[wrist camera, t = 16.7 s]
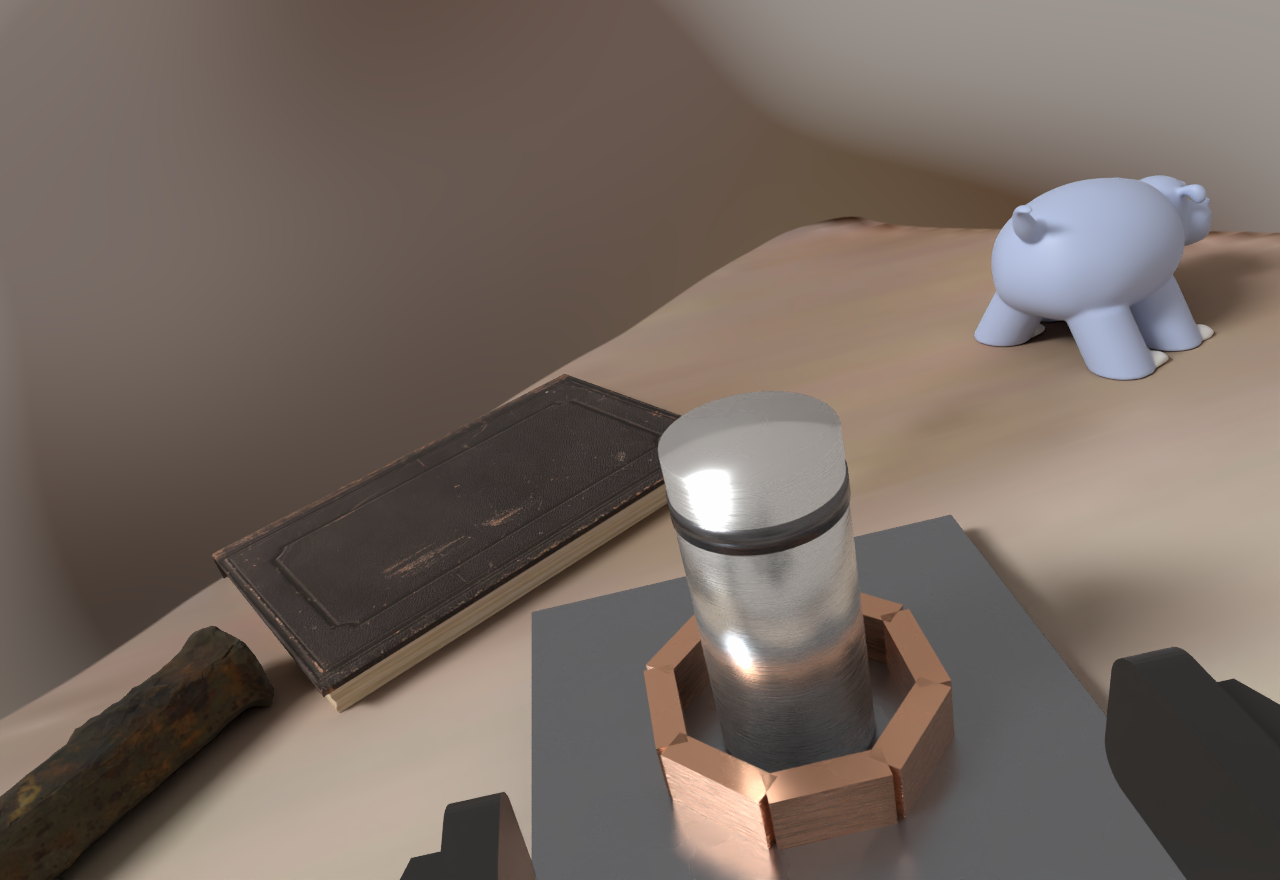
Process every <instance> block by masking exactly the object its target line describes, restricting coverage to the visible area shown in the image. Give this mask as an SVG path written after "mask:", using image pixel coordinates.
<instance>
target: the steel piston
mask: <svg viewBox="0 0 1280 880" xmlns="http://www.w3.org/2000/svg"><path fill="white" fill-rule="evenodd" d="M658 455H659V460H660V464H661V469H662V473H663V477H664V482H665V486H666V498H667V503H668V507H669V511H670V516H671V520H672V523H673V526H674V528H675V530H676V534H677V538H678V543H679V547H680V552H681V556H682V560H683V565H684V569H685V573H686V578H687V582H688V586H689V591H690V595H691V600H692V604H693V608H694V613H695V617H696V621H697V626H698V630H699V635H700V639H701V643H702V648H703V652H704V656H705V661H706V665H707V669H708V674H709V678H710V683H711V687H712V691H713V696H714V700H715V704H716V709H717V713H718V718H719V722H720V726H721V731H722V735H723V739H724V742H725V745H726V747H727V749H728V751H729V753H730V754H731V756H733V757H735V758H737V759H740V760H742V761H744V762H746V763H748V764H750V765H753V766H755V767H757V768H759V769H761V770H764V771H766V772H768V773H773V772H778V771H782V770H786V769H791V768H795V767H799V766H804V765H808V764H812V763H816V762H821V761H825V760H829V759H834V758H838V757H842V756H847V755H851V754H855V753H859V752H864V751H866V750H867V748H868V747H869V745H870V743H871V741H872V738H873V735H874V729H875V715H874V707H873V698H872V689H871V681H870V672H869V664H868V655H867V646H866V638H865V629H864V620H863V612H862V603H861V595H860V586H859V577H858V569H857V560H856V552H855V543H854V534H853V526H852V517H851V508H850V494H851V492H850V484H849V475H848V467H847V463H846V460H845V457H844V448H843V439H842V431H841V423H840V419H839V417H838V415H837V413H836V412H835V411H834V410H833V408H831V407H830V406H829V405H828V404H826V403H824V402H823V401H821V400H819V399H816V398H814V397H811V396H807V395H804V394H798V393H792V392H782V391H762V392H751V393H744V394H738V395H733V396H729V397H725V398H721V399H718V400H715V401H712V402H709V403H707V404H704V405H702V406H699V407H697V408H695V409H693V410H691V411H689V412H688V413H686V414H684V415H683V416H681V417H680V418H679V419H677V420H676V421H675V422H674V423H672V424H671V425H670V426H669V427H668V428H667V430H666V431H665V432H664V433H663V435H662V437H661V439H660V441H659V444H658Z"/></svg>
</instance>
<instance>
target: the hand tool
mask: <svg viewBox="0 0 1280 880" xmlns="http://www.w3.org/2000/svg"><path fill="white" fill-rule="evenodd" d="M273 696H274V688H273V687H272V685H271V684H270V683H269V681H268V679H267V676H266V674H265V672H264V670H263V668H262V666H261V664H260V663H259V661H258V660H257V658H256V656H255V655H254V654H253V653H252V651H251V650H250V649H249V648H248V647H247V645H246V644H245V643H244V642H242V641H241V640H239V639H237V638H236V637H234V636H232V635H230V634H228V633H226V632H224V631H221V630H220V629H219V628H218V627H216V626H210V627H207V628H203V629H201V630H198V631H196V632H194V633H193V634H192V635H191V636H190V637H189V638H188V640H187V642H186V643H185V645H184V646H183V648H182V649H181V651H180V652H179V653H178V654H177V655H176V656H175V657H174V658H173V659H172V660H171V661H170V662H169V663H168V664H166V665H165V666H164V667H163V668H162V669H161V670H160V671H159V672H157V673H156V674H154V675H153V676H151V677H150V678H149V679H147V680H146V681H144V682H143V683H142V684H141V685H139V686H137V687H134V688H132V689H131V691H130V692H129V693H128V694H127V695H126V696H125V697H123V699H121V700H120V701H119V702H117V703H114V704H112V705H111V706H110V707H108V708H107V709H106V710H104V711H103V712H102V713H101V714H100V715H98V716H95V717H93V718H91V719H89V720H88V721H87V722H86V723H85V724H84V725H82V726H81V727H79V728H76V729H75V730H74V732H73V734H72V736H71V737H70V739H69V741H68V743H67V744H66V745H65V746H64V747H62V748H61V749H59V750H58V751H57V752H55V753H54V754H53V755H52V756H51V757H50V758H49V759H47V760H46V761H45V762H43V763H42V764H41V765H39V766H38V767H37V768H35V769H34V770H33V771H31V772H30V773H29V774H27V775H26V776H25V777H24V778H23V779H21V780H20V781H19V782H18V783H17V784H16V785H14V786H13V787H12V788H11V789H10V790H8V791H7V792H6V793H4V794H3V795H2V796H1V797H0V880H52V879H54V878H55V877H57V876H58V875H59V874H61V873H62V872H64V871H65V870H67V869H68V868H70V867H71V866H72V864H73V863H74V862H75V860H76V859H77V858H78V857H79V855H80V854H81V853H82V852H83V851H84V850H85V849H86V848H87V847H88V846H89V845H91V844H92V843H93V842H94V841H95V840H97V839H98V838H99V837H100V836H101V835H103V834H104V833H105V832H106V831H107V830H108V829H109V828H110V827H111V826H112V825H114V824H115V823H116V822H117V821H119V820H120V819H121V818H122V817H123V816H124V815H125V814H126V813H127V812H128V811H130V810H131V809H132V808H133V807H134V806H136V805H137V804H138V803H139V802H141V801H142V800H143V799H144V798H145V797H146V796H147V795H148V794H149V793H150V792H152V791H153V790H154V789H156V788H157V787H158V786H159V785H160V784H161V783H162V782H163V781H164V780H165V779H166V778H168V777H169V776H170V775H171V774H172V773H174V772H175V771H176V770H177V769H178V768H179V767H181V766H182V765H183V764H184V763H185V762H186V761H188V760H189V759H190V758H191V757H192V756H194V755H195V754H196V753H197V752H198V751H200V750H201V749H202V748H203V747H204V746H205V745H206V744H208V743H209V742H211V741H212V740H213V739H214V738H215V737H216V736H217V735H218V734H219V733H220V732H221V731H222V729H223V728H224V727H225V726H226V725H227V724H228V723H230V722H231V721H232V720H233V719H234V718H236V717H237V716H238V715H239V714H241V713H242V712H243V711H244V710H246V709H247V708H249V707H252V706H262V707H268V706H270V705H271V704H272V699H273Z"/></svg>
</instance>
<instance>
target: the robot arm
mask: <svg viewBox="0 0 1280 880" xmlns="http://www.w3.org/2000/svg"><path fill="white" fill-rule="evenodd" d="M1105 750H1106V755H1107V759H1108V762H1109V765H1110V768H1111V771H1112V773H1113V775H1114V777H1115V779H1116V781H1117V783H1118V785H1119V787H1120V788H1121V790H1122V791H1123V793H1124V794H1125V795H1126V797H1127V798H1128V800H1129V801H1130V802H1131V804H1132V805H1133V806H1134V808H1135V809H1136V811H1137V812H1138V813H1139V815H1140V816H1141V817H1142V819H1143V820H1144V822H1145V823H1146V824H1147V826H1148V827H1149V828H1150V830H1151V831H1152V833H1153V834H1154V835H1155V837H1156V838H1157V840H1158V841H1159V842H1160V844H1161V845H1162V846H1163V848H1164V849H1165V851H1166V852H1167V853H1168V855H1169V856H1170V857H1171V859H1172V860H1173V862H1174V863H1175V864H1176V866H1177V867H1178V868H1179V870H1180V871H1181V873H1182V874H1183V875H1184V877H1185V878H1186V879H1187V880H1280V705H1279V704H1278V703H1276V702H1274V701H1272V700H1271V699H1269V698H1267V697H1265V696H1264V695H1262V694H1260V693H1258V692H1257V691H1255V690H1253V689H1251V688H1249V687H1248V686H1246V685H1244V684H1242V683H1241V682H1239V681H1237V680H1235V679H1230V680H1225V681H1221V682H1216V681H1215V680H1214V679H1213V678H1212V677H1211V676H1210V675H1209V674H1208V673H1207V672H1206V671H1205V670H1204V669H1203V667H1202V666H1201V665H1200V664H1199V663H1198V662H1197V661H1196V660H1195V659H1194V658H1193V657H1192V656H1191V655H1190V654H1189V653H1187V652H1186V651H1184V650H1183V649H1181V648H1178V647H1171V648H1166V649H1162V650H1157V651H1152V652H1148V653H1143V654H1139V655H1134V656H1130V657H1125V658H1121V659H1118V660H1116V661H1115V662H1114V664H1113V666H1112V671H1111V681H1110V691H1109V701H1108V711H1107V721H1106V730H1105ZM400 880H536V875H535V871H534V867H533V864H532V861H531V858H530V856H529V853H528V850H527V847H526V844H525V842H524V839H523V836H522V833H521V831H520V828H519V825H518V822H517V819H516V817H515V814H514V811H513V808H512V806H511V803H510V800H509V798H508V796H507V794H506V793H505V792H502V793H497V794H492V795H488V796H483V797H479V798H474V799H470V800H465V801H461V802H456V803H452V804H448V805H447V807H446V809H445V813H444V821H443V832H442V844H441V852H436V853H432V854H427V855H423V856H418V857H414V858H411V860H410V861H409V863H408V865H407V867H406V869H405V871H404V873H403V875H402V877H401V879H400Z"/></svg>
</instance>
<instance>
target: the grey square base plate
mask: <svg viewBox="0 0 1280 880" xmlns="http://www.w3.org/2000/svg"><path fill="white" fill-rule="evenodd" d="M854 543H855V552H856V560H857V569H858V577H859V586H860V595H861V603H862V612H863V620H864V629H865V638H866V646H867V655H868V664H869V672H870V681H871V689H872V698H873V707H874V715H875V729H874V735H873V738H872V741H871V743H870V745H869V747H868V748H867V750H866V751H864V752H859V753H855V754H851V755H847V756H842V757H838V758H834V759H829V760H825V761H821V762H816V763H812V764H808V765H804V766H799V767H795V768H791V769H786V770H782V771H778V772H773V773H768V772H766V771H764V770H761V769H759V768H757V767H755V766H753V765H750V764H748V763H746V762H744V761H742V760H740V759H737V758H735V757H733V756H731V754H730V753H729V751H728V749H727V747H726V745H725V742H724V739H723V735H722V731H721V726H720V722H719V718H718V713H717V709H716V704H715V700H714V696H713V691H712V687H711V683H710V678H709V674H708V669H707V665H706V661H705V656H704V652H703V648H702V643H701V639H700V635H699V630H698V626H697V621H696V617H695V613H694V608H693V604H692V600H691V595H690V591H689V586H688V582H687V578H686V577H681V578H677V579H673V580H668V581H664V582H660V583H656V584H651V585H647V586H643V587H638V588H634V589H630V590H626V591H621V592H617V593H613V594H608V595H604V596H600V597H595V598H591V599H587V600H583V601H578V602H574V603H570V604H565V605H561V606H557V607H553V608H548V609H544V610H540V611H535V612H532V864H533V867H534V871H535V875H536V880H1187V879H1186V878H1185V877H1184V875H1183V874H1182V873H1181V871H1180V870H1179V868H1178V867H1177V866H1176V864H1175V863H1174V862H1173V860H1172V859H1171V857H1170V856H1169V855H1168V853H1167V852H1166V851H1165V849H1164V848H1163V846H1162V845H1161V844H1160V842H1159V841H1158V840H1157V838H1156V837H1155V835H1154V834H1153V833H1152V831H1151V830H1150V828H1149V827H1148V826H1147V824H1146V823H1145V822H1144V820H1143V819H1142V817H1141V816H1140V815H1139V813H1138V812H1137V811H1136V809H1135V808H1134V806H1133V805H1132V804H1131V802H1130V801H1129V800H1128V798H1127V797H1126V795H1125V794H1124V793H1123V791H1122V790H1121V788H1120V787H1119V785H1118V783H1117V781H1116V779H1115V777H1114V775H1113V773H1112V771H1111V768H1110V765H1109V762H1108V759H1107V755H1106V750H1105V730H1106V721H1107V716H1106V715H1105V714H1104V712H1103V711H1102V710H1101V708H1100V707H1099V706H1098V705H1097V703H1096V702H1095V701H1094V699H1093V698H1092V697H1091V695H1090V694H1089V693H1088V692H1087V690H1086V689H1085V688H1084V686H1083V685H1082V684H1081V683H1080V681H1079V680H1078V679H1077V677H1076V676H1075V675H1074V673H1073V672H1072V671H1071V670H1070V668H1069V667H1068V666H1067V664H1066V663H1065V662H1064V660H1063V659H1062V658H1061V657H1060V655H1059V654H1058V653H1057V651H1056V650H1055V649H1054V648H1053V646H1052V645H1051V644H1050V642H1049V641H1048V640H1047V638H1046V637H1045V636H1044V635H1043V633H1042V632H1041V631H1040V629H1039V628H1038V627H1037V625H1036V624H1035V623H1034V622H1033V620H1032V619H1031V618H1030V616H1029V615H1028V614H1027V613H1026V611H1025V610H1024V609H1023V607H1022V606H1021V605H1020V603H1019V602H1018V601H1017V600H1016V598H1015V597H1014V596H1013V594H1012V593H1011V592H1010V590H1009V589H1008V588H1007V587H1006V585H1005V584H1004V583H1003V581H1002V580H1001V579H1000V578H999V576H998V575H997V574H996V572H995V571H994V570H993V568H992V567H991V566H990V565H989V563H988V562H987V561H986V559H985V558H984V557H983V555H982V554H981V553H980V552H979V550H978V549H977V548H976V546H975V545H974V544H973V543H972V541H971V540H970V539H969V537H968V536H967V535H966V533H965V532H964V531H963V530H962V528H961V527H960V526H959V524H958V523H957V522H956V520H955V519H954V518H953V517H952V515H948V516H943V517H939V518H935V519H930V520H926V521H922V522H918V523H913V524H909V525H905V526H900V527H896V528H892V529H887V530H883V531H879V532H875V533H870V534H866V535H862V536H857V537H854Z"/></svg>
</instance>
